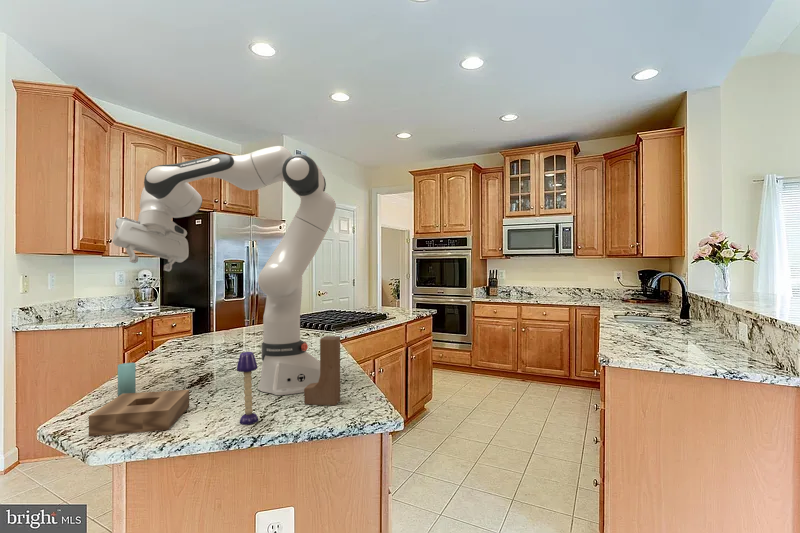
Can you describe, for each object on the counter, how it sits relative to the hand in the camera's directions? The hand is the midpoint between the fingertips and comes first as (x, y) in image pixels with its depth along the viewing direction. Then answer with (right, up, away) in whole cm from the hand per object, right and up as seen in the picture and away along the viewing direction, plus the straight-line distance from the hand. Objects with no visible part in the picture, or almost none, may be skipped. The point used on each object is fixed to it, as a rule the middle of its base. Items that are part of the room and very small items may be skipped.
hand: (151, 266), depth 117 cm
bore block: (+10, -38, -20) cm, 44 cm away
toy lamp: (+36, -38, -21) cm, 56 cm away
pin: (-1, -38, -9) cm, 39 cm away
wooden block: (+52, -38, -7) cm, 64 cm away
